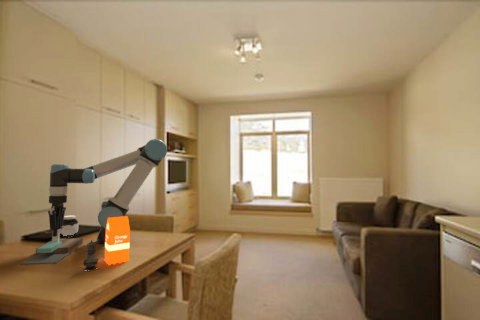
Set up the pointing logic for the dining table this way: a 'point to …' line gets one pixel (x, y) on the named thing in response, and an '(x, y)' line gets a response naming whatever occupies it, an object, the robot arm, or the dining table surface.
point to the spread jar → (69, 225)
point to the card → (49, 247)
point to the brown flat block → (66, 245)
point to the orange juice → (117, 240)
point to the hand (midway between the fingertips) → (55, 242)
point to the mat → (45, 258)
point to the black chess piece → (90, 257)
